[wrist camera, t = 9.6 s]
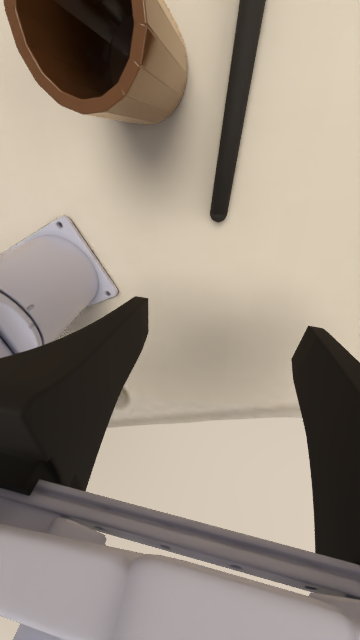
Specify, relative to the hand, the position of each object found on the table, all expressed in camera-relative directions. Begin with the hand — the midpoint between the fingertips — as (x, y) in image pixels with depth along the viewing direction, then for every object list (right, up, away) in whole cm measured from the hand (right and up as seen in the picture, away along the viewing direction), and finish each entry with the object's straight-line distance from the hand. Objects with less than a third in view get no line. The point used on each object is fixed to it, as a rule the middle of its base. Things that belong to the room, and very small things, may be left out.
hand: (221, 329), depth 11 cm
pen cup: (-4, +15, +3) cm, 16 cm away
